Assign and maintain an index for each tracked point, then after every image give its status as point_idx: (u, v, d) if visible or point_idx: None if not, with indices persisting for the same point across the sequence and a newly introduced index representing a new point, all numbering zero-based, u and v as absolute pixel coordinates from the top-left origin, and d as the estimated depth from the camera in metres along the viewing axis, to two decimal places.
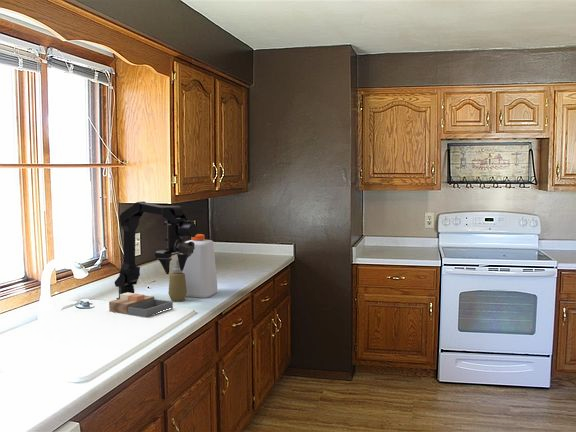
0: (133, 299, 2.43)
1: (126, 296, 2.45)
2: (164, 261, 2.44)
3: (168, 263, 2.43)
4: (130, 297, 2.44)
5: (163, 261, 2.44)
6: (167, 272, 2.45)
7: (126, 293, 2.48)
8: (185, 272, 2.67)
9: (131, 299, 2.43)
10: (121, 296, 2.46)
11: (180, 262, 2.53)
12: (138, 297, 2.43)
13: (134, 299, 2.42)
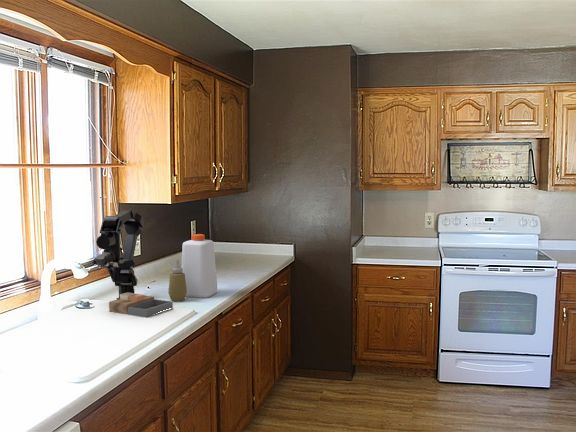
0: (133, 299, 2.43)
1: (126, 296, 2.45)
2: None
3: (109, 271, 2.49)
4: (130, 297, 2.44)
5: None
6: None
7: (126, 293, 2.48)
8: (185, 272, 2.67)
9: (131, 299, 2.43)
10: (121, 296, 2.46)
11: None
12: (138, 297, 2.43)
13: (134, 299, 2.42)
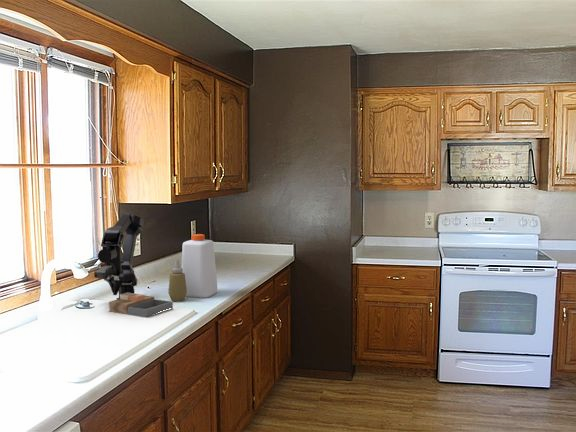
0: (133, 299, 2.43)
1: (126, 296, 2.45)
2: None
3: (110, 284, 2.50)
4: (130, 297, 2.44)
5: None
6: None
7: (126, 293, 2.48)
8: (185, 272, 2.67)
9: (131, 299, 2.43)
10: (121, 296, 2.46)
11: None
12: (138, 297, 2.43)
13: (134, 299, 2.42)
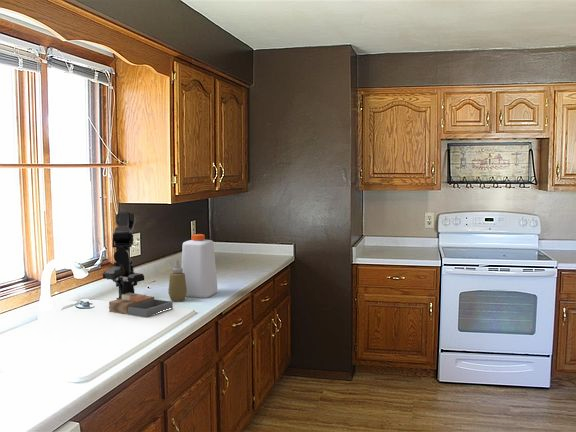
0: (134, 299, 2.42)
1: (128, 296, 2.44)
2: None
3: (119, 285, 2.47)
4: (131, 297, 2.43)
5: None
6: None
7: (128, 293, 2.48)
8: (185, 272, 2.67)
9: (133, 300, 2.43)
10: (123, 296, 2.45)
11: None
12: (139, 297, 2.42)
13: (135, 299, 2.42)
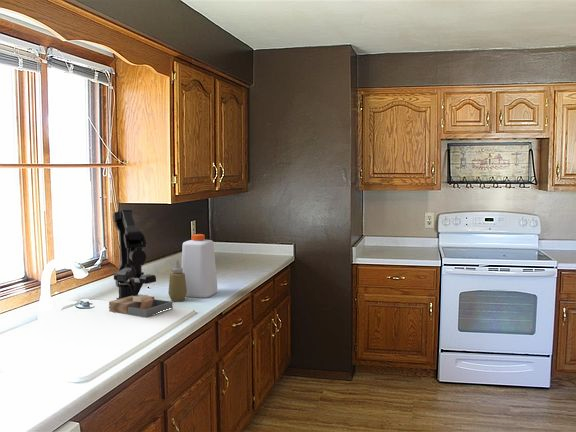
0: (141, 305, 2.41)
1: (139, 298, 2.41)
2: None
3: (130, 286, 2.44)
4: (144, 303, 2.40)
5: None
6: None
7: (139, 295, 2.44)
8: (185, 272, 2.67)
9: (141, 303, 2.41)
10: (134, 298, 2.42)
11: None
12: None
13: (141, 307, 2.41)
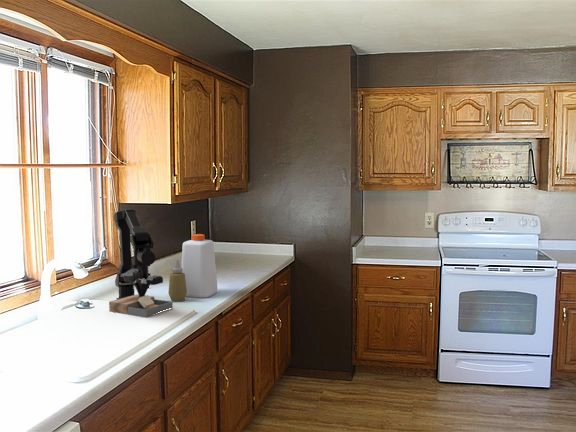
0: None
1: (145, 304, 2.40)
2: None
3: (136, 287, 2.42)
4: None
5: None
6: None
7: (146, 297, 2.42)
8: (185, 272, 2.67)
9: None
10: (140, 300, 2.41)
11: None
12: None
13: (148, 308, 2.40)
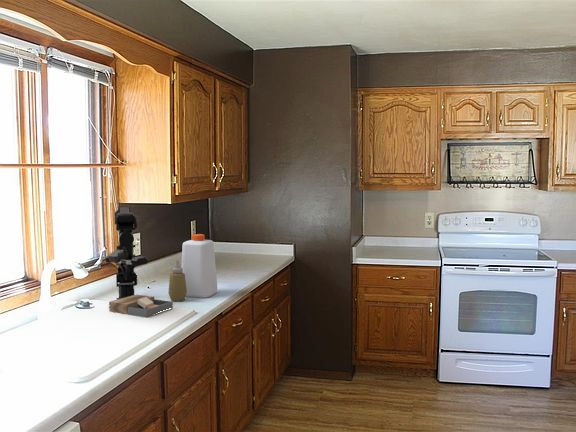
0: None
1: (144, 304, 2.40)
2: None
3: (122, 268, 2.46)
4: None
5: None
6: None
7: (144, 299, 2.43)
8: (185, 272, 2.67)
9: None
10: (139, 301, 2.41)
11: None
12: None
13: (148, 308, 2.40)
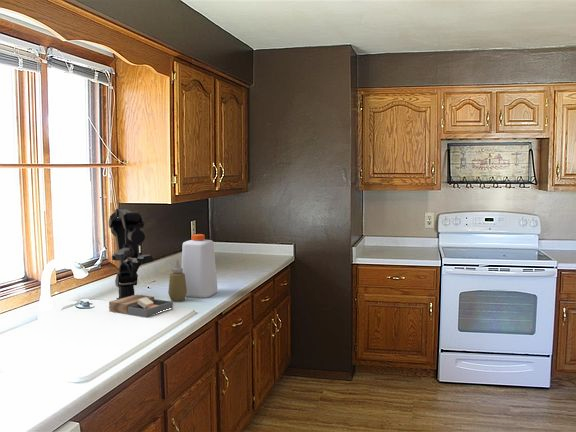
0: None
1: (144, 304, 2.40)
2: None
3: (128, 266, 2.51)
4: None
5: None
6: None
7: (144, 299, 2.43)
8: (185, 272, 2.67)
9: None
10: (139, 301, 2.41)
11: None
12: None
13: (148, 308, 2.40)
